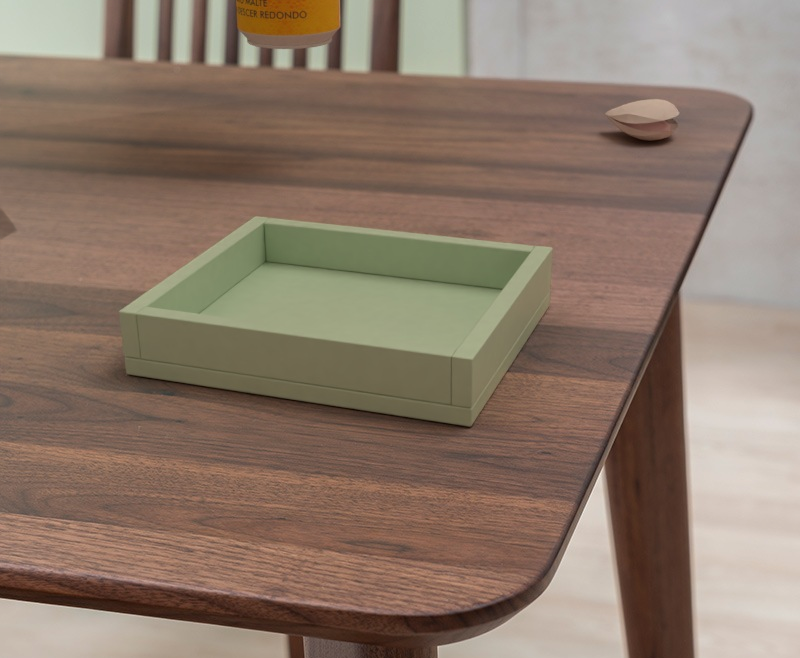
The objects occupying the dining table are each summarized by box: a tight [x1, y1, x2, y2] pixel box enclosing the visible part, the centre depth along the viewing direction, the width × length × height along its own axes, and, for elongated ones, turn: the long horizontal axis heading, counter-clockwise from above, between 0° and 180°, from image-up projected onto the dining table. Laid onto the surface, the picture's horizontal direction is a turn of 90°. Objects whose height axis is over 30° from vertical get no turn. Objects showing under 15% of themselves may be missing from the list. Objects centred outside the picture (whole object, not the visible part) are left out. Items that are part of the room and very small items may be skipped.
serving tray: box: [118, 215, 554, 428], centre depth 53 cm, size 15×13×3 cm
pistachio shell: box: [605, 98, 680, 142], centre depth 83 cm, size 4×5×2 cm
